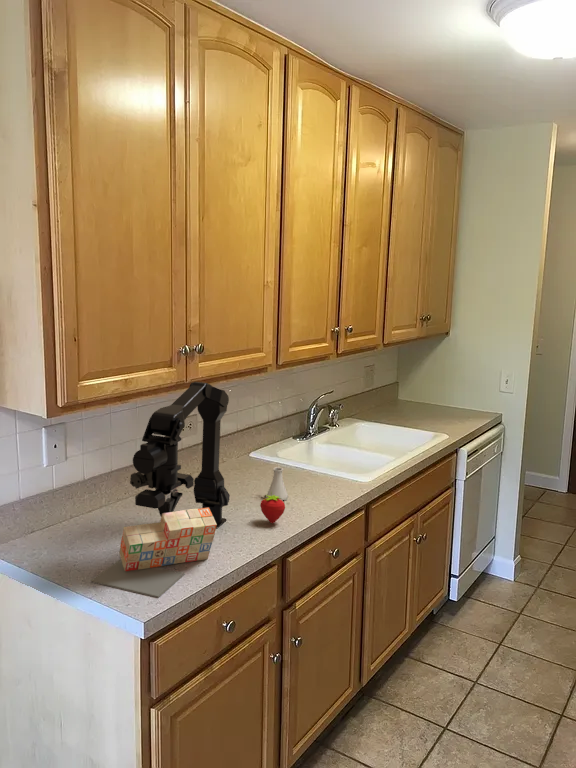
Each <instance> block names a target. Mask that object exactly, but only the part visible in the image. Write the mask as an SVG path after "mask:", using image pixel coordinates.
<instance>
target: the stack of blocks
mask: <svg viewBox="0 0 576 768" xmlns="http://www.w3.org/2000/svg"><path fill="white" fill-rule="evenodd" d="M216 526H217V524H216V522H215V520H214V517H213V515H212V513H211V511H210V509H209V508H202V507H201V508H191V509H189V508H188V509H183V510H182V509H181V510H177V511H176V510H175V511H173V512H168V513H162V516H160V521H159V522H151V523H142V524H137V525H128V526H123V529H122V536H121V539H120V540H121V541H120V547H119V556H120V559H121V560H122V564H123V567H124V570H125V571H131V570H137V569H138V570H139V569H146V568H152V567H159V568H160V567H163V566H169V565H170V566H171V565H175V564H180V563H189V562H190V563H191V562H196V561H203V560H208V559H209V556H210V552H211V548H212V544H213V541H214V538H215V533H216V529H217V528H216Z"/></svg>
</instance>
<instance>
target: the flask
mask: <svg viewBox="0 0 576 768" xmlns="http://www.w3.org/2000/svg"><path fill="white" fill-rule="evenodd" d="M272 471H273V476H272V481H271V484H270V486H269V489H268V491H267V493H266V495H267V496H271V492H272V496H273V495H275V496H280V497H278V498H281V499H280V500H282V501H283V500H284V501H287V500H288V498H289V494H288V491H287V489H286V485H285V483H284V479H283V478H284V477H283V471H284V467H283V468H282V467H277V466H275V467H273V468H272ZM267 496H265V498H269V497H267ZM284 501H283V502H284Z"/></svg>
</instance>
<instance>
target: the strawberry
mask: <svg viewBox="0 0 576 768" xmlns="http://www.w3.org/2000/svg"><path fill="white" fill-rule="evenodd" d="M264 496H265V498H263V499H262V500H261V502H260V505H259V506H260V510H261V513H262V514H263V515H264V517H265V518H266V519H267V521H268V522H269V523H270V524H275V523H276V522H277V521H278V520H279V519H280V518H281V516H282V515H283V514H284V512H285V509H286V505H285V501H282V500H280V499H281V498H278V497H280V496H275V495H273V496H272V492H271V496H267V494H266V495H264ZM266 496H267V497H269V498H266Z"/></svg>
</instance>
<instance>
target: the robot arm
mask: <svg viewBox="0 0 576 768" xmlns="http://www.w3.org/2000/svg"><path fill="white" fill-rule="evenodd" d="M229 403H230V402H229V394H227V392H226V391H225V389H220V388H218V387H215V386H213V385H211V384H210V383H208V382H203V381H202V382H200V381H193V382H190V384H189V387H188V388H187V389H186V390H185V391H184V392H182V394H180V396H179V397H178V398H176V399H175V401H174V402H173V403H172V404H170V405H167V406H163V407H160V408H158V409H157V410H155V411H154V412H153V413H152V414H151V416H150V417H149V419H148V422H147V425H146V428H145V430H144V434H143V435H142V436H143V437H142V439H141V441H142V442H144V443H141V444H140V446H139V447H140V449H138V450H137V451H135V453H134V455H133V457H132V464H133V467H134V469H135V470H136V471H137V472H133V473H131V474H130V478H129V479H130V480H129V483H130V485H131V487H133V488H134V487H135V489H136V490H137V489H140V488H142V487H146V486H148V488H149V489H144V490H142V491H140V492H139V493H137V494H136V495H135V496H134V504H135V506H137V507H138V506H139V507H144V508H149V509H153V510H154V509H155V510H156V509H158V513H159V515H160V516H159V517H161V516H162V513H168V512H175V511H174V510H175V509H176V507H177V505H178V503H179V501H180V499H181V498H182V496H183V492H179V490H178V488H179V487H181V486H183V485H184V486H185V488H186V489H188V490H189V489H190V488H192V487H193V495H194V501H195V503H196V504H202V505H201V506H202V507H201V508H209V509H210V511H211V513H212V515H213V517H214V520H215V522H216V524H217V526H216V529H218V528H220V526H221V525H223V524H224V523H225V522H226V521H227V518H223V507H227V506H229V503H230V496H231V495H230V492H228V490H227V488H226V487H225V478H224V476H223V474H222V472H221V471H220V449H221V448H220V447H221V446H220V445H221V444H220V443H221V420H222V419H223V418H224V416H225V415H226V412H227V410H228V405H229ZM195 409H197V412H198V414H199V415H200V417H201V420H202V446H201V447H202V449H201V470H200V472H199V474H198V475H197V476H195V478H194V477H193V476H192V475H191V474H187V473H181V472H180V473H179V472H178V471H180V470H181V469H182V465H181V464H178V463H179V461H178V460H179V459H178V457H179V456H178V453H179V443H180V442H181V441H182V437H181V436H180V435H181V433H182V431H183V430H184V429H185V427H186V422H185V420H186V419H187V418H188V416H189V415H190V414H191V413H192V412H193V411H194V410H195ZM151 489H153V490H151Z"/></svg>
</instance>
